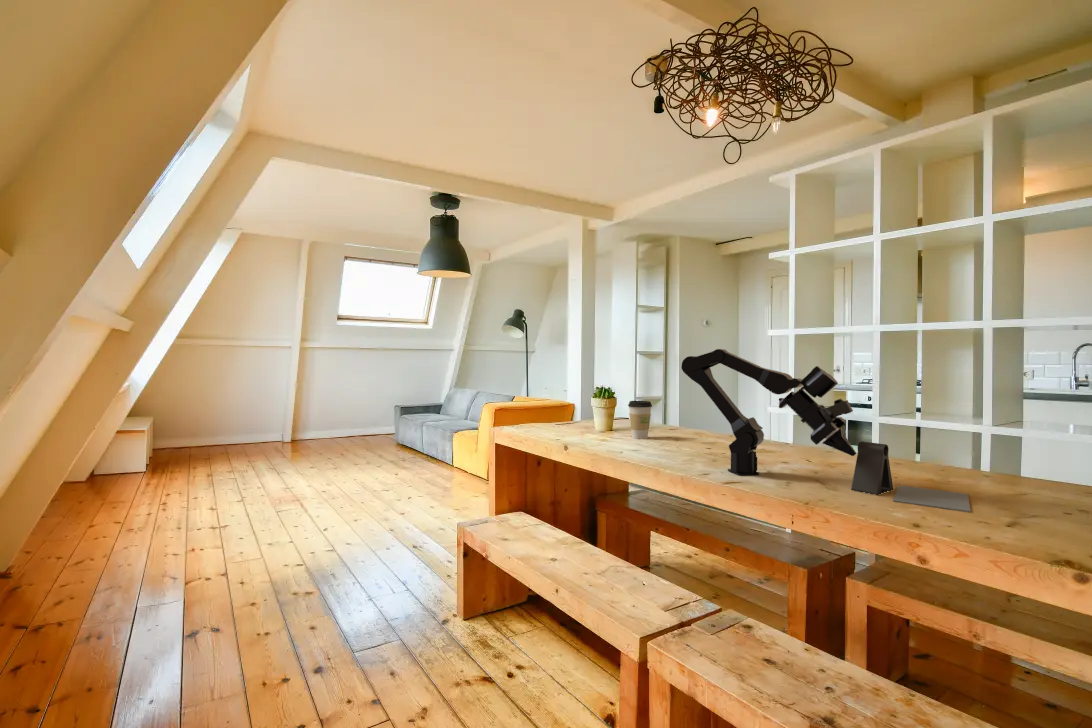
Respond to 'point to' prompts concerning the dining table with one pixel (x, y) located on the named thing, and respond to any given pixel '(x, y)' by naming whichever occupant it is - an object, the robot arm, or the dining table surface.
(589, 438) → the dining table surface
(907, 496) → the mat
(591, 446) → the dining table surface
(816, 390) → the robot arm
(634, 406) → the coffee cup
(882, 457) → the dark tent sign
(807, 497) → the dining table surface
